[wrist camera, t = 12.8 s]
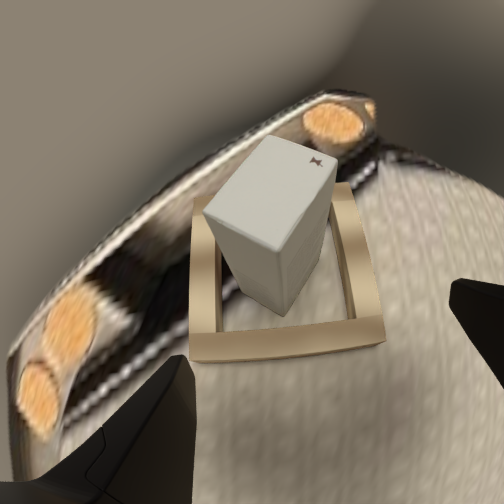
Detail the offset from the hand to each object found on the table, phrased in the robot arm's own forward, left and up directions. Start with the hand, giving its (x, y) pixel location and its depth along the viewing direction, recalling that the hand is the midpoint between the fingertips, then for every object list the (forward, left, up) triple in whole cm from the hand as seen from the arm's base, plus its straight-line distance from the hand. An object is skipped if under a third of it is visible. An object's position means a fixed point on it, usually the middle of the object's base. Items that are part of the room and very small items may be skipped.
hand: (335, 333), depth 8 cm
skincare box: (+7, +1, -14) cm, 16 cm away
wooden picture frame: (+7, +1, -14) cm, 16 cm away
